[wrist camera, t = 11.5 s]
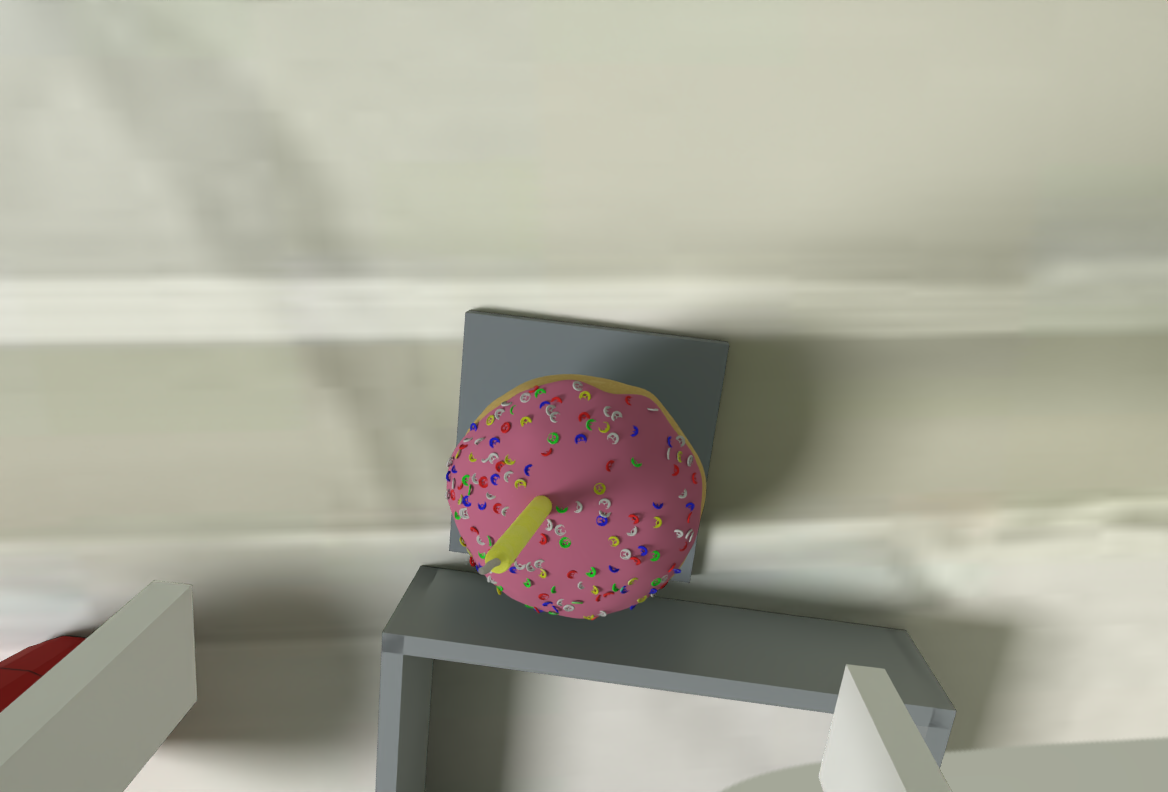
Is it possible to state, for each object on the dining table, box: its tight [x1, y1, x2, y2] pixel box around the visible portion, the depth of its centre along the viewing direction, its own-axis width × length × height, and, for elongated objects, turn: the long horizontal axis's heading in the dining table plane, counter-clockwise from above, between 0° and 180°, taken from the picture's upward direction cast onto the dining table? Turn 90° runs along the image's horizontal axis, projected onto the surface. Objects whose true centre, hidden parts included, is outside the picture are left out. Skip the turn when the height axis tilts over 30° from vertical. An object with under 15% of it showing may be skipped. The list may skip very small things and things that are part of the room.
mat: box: [449, 310, 729, 583], centre depth 29 cm, size 10×10×1 cm
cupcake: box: [446, 374, 706, 620], centre depth 23 cm, size 9×8×12 cm
